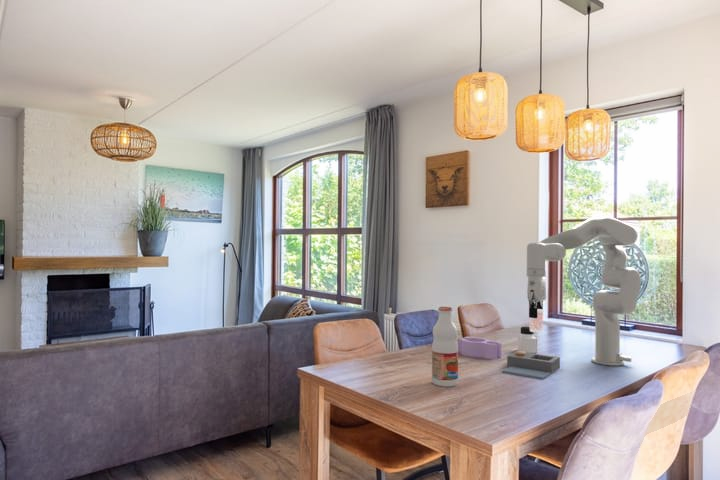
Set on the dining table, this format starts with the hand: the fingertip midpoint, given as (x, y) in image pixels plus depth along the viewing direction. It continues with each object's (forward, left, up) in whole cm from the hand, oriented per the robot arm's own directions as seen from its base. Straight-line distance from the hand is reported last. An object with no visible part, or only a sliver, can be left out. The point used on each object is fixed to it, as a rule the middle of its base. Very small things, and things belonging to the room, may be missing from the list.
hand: (535, 316), depth 193 cm
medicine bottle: (+14, -34, -22) cm, 43 cm away
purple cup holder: (+29, -12, -22) cm, 39 cm away
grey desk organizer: (+2, -5, -22) cm, 23 cm away
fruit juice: (+20, +40, -22) cm, 50 cm away
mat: (+1, +7, -22) cm, 23 cm away
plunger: (+8, -5, -21) cm, 23 cm away
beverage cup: (0, 0, -6) cm, 6 cm away
